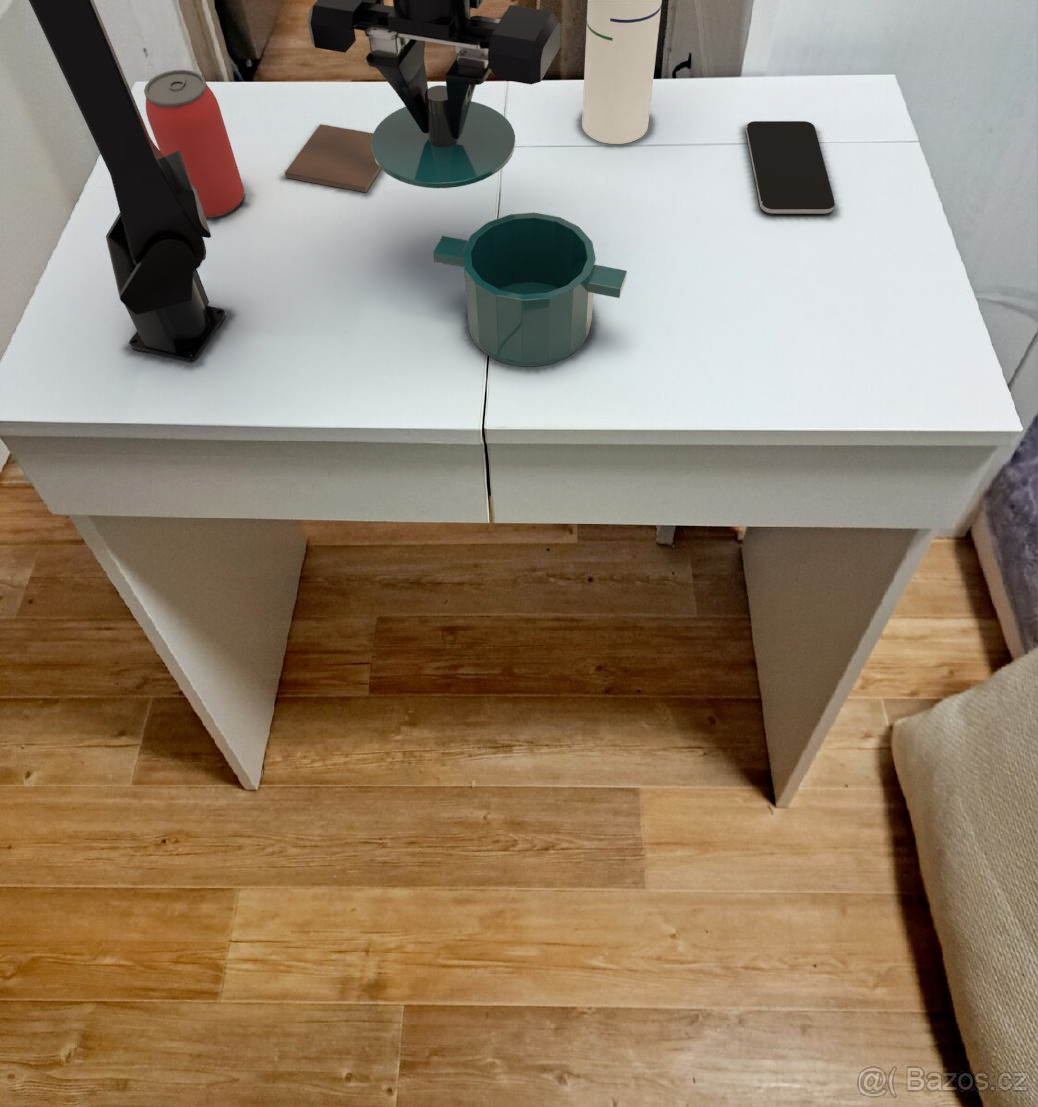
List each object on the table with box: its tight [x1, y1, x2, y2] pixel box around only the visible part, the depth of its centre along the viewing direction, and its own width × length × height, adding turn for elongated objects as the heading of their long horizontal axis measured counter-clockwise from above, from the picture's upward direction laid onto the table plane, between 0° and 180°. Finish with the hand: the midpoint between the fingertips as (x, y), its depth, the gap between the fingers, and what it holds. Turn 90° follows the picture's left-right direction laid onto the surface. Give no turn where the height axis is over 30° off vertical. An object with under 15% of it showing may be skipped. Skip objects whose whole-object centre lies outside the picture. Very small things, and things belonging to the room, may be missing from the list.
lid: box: [371, 85, 516, 189], centre depth 77 cm, size 12×12×5 cm
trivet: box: [284, 124, 382, 193], centre depth 97 cm, size 9×9×1 cm
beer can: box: [143, 69, 245, 219], centre depth 89 cm, size 7×7×12 cm
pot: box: [432, 212, 628, 367], centre depth 80 cm, size 11×16×8 cm
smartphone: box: [745, 120, 836, 215], centre depth 95 cm, size 7×1×15 cm
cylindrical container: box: [581, 0, 663, 145], centre depth 89 cm, size 7×7×25 cm
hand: (442, 133), depth 78 cm, fingers closed on lid, 2 cm apart
